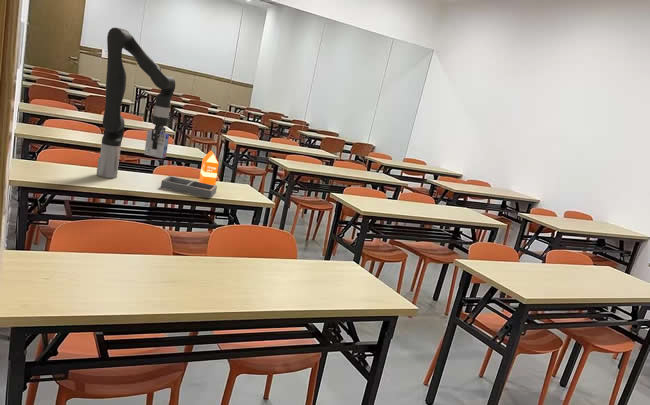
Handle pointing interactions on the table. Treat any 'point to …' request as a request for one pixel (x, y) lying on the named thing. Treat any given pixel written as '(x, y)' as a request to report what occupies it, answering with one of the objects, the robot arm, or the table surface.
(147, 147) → the ink cartridge box
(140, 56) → the robot arm
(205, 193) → the grey divided tray
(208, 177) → the orange juice
